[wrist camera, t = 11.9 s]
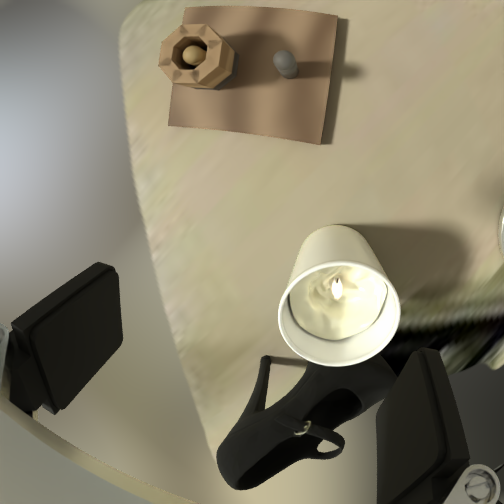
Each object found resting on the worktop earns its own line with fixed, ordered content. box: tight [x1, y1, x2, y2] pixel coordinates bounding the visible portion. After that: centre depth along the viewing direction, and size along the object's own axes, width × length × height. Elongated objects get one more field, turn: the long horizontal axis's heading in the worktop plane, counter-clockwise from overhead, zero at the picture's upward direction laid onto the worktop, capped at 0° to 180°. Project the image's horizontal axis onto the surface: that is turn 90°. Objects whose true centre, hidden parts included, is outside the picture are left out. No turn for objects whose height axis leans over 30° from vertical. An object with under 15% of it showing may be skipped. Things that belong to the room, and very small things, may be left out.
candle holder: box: [278, 225, 401, 366], centre depth 29 cm, size 10×10×12 cm
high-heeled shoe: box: [216, 353, 397, 490], centre depth 31 cm, size 8×19×20 cm, turn 108°
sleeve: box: [158, 24, 239, 90], centre depth 25 cm, size 6×6×6 cm
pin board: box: [168, 6, 338, 145], centre depth 26 cm, size 16×14×7 cm
